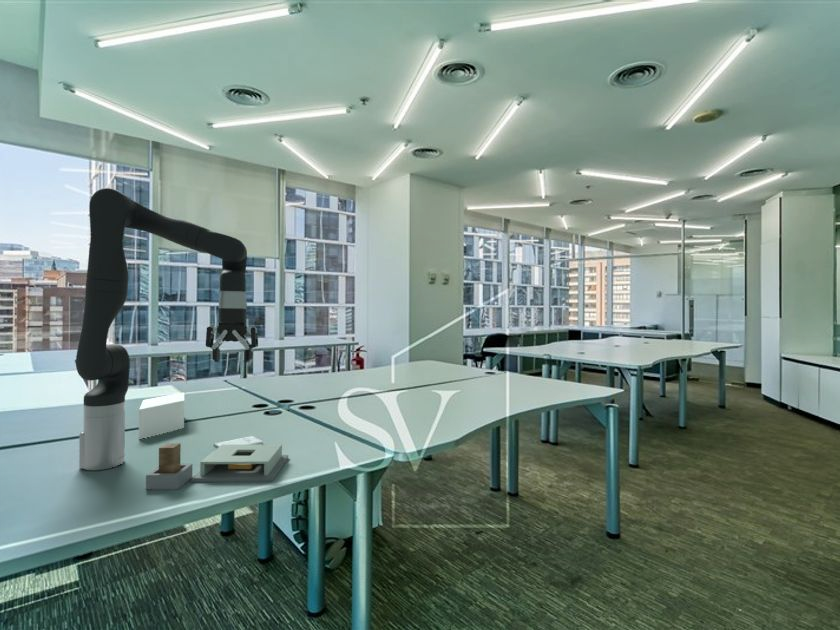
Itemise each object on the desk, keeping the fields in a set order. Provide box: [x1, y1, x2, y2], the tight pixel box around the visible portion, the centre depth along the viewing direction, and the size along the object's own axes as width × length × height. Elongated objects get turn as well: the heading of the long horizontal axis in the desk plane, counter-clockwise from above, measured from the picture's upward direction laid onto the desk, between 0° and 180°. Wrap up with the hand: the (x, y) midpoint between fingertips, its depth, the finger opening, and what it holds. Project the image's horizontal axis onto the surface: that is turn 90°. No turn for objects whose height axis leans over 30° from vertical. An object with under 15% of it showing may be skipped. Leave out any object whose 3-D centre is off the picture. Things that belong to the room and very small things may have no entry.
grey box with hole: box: [191, 443, 289, 483], centre depth 118 cm, size 20×17×5 cm
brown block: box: [158, 442, 182, 473], centre depth 108 cm, size 4×4×9 cm
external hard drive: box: [213, 435, 264, 449], centre depth 138 cm, size 2×8×12 cm
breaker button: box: [228, 464, 255, 469], centre depth 118 cm, size 6×6×1 cm
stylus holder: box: [145, 463, 193, 490], centre depth 108 cm, size 8×8×4 cm
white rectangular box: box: [138, 392, 185, 440], centre depth 156 cm, size 14×29×10 cm, turn 2°
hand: (232, 362), depth 127 cm, fingers open, 8 cm apart
